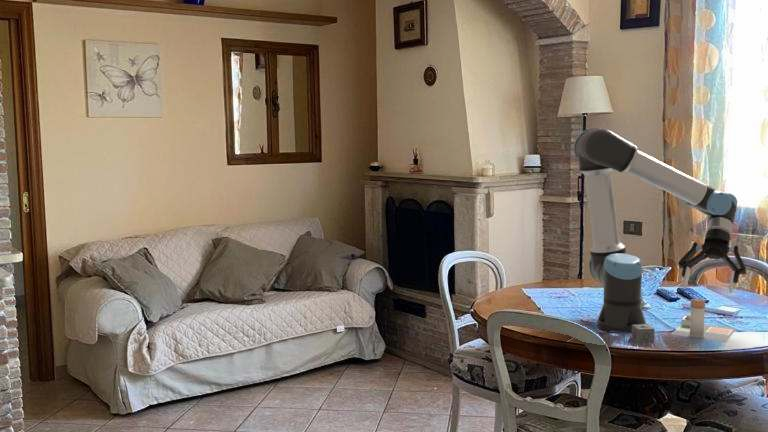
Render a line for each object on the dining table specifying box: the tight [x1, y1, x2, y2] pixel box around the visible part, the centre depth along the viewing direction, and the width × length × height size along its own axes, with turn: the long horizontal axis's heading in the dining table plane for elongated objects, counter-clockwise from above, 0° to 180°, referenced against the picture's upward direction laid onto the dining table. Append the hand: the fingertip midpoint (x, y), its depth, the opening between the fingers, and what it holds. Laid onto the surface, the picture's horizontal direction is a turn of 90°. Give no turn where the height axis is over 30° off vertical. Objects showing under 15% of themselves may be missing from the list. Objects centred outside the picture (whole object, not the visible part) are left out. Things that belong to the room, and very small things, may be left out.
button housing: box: [680, 315, 690, 327], centre depth 245 cm, size 5×5×2 cm
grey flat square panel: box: [670, 323, 737, 344], centre depth 238 cm, size 16×17×1 cm
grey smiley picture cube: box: [631, 323, 655, 343], centre depth 231 cm, size 5×5×5 cm
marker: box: [689, 298, 706, 337], centre depth 234 cm, size 4×4×11 cm
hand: (707, 288), depth 240 cm, fingers open, 13 cm apart
